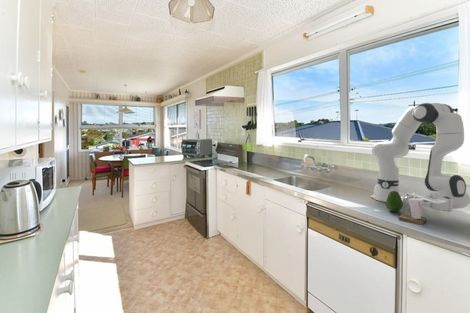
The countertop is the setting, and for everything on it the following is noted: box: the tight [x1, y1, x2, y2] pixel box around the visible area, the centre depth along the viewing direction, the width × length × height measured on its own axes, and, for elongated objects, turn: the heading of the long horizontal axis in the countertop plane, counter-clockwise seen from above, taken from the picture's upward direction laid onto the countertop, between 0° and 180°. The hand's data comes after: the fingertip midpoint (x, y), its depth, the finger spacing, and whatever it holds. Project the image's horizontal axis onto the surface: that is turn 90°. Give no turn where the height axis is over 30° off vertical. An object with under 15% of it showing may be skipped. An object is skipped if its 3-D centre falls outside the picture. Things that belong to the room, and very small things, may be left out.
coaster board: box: [398, 212, 427, 226], centre depth 130 cm, size 10×10×2 cm
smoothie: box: [408, 190, 424, 219], centre depth 128 cm, size 6×6×14 cm
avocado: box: [385, 191, 404, 213], centre depth 143 cm, size 8×8×12 cm
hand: (412, 201), depth 129 cm, fingers open, 8 cm apart
